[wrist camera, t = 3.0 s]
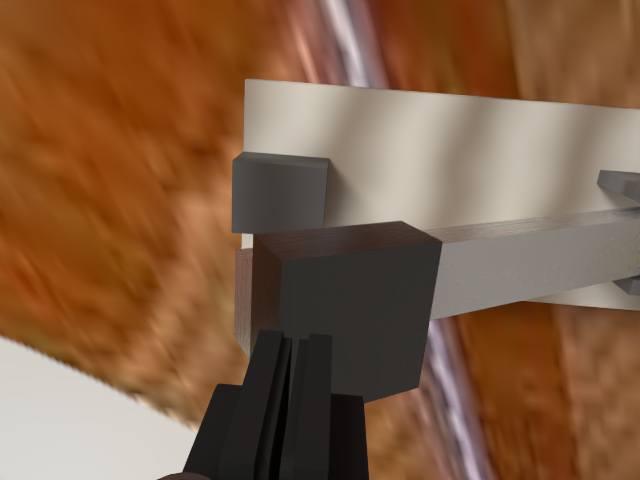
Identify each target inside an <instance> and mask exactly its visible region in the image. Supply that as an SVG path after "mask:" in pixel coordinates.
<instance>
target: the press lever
mask: <svg viewBox="0 0 640 480" xmlns="http://www.w3.org/2000/svg"><path fill="white" fill-rule="evenodd" d="M637 275H640V206H639V207H630V208H620V209H611V210H601V211H592V212H583V213H573V214H564V215H555V216H545V217H536V218H526V219H517V220H508V221H498V222H489V223H480V224H470V225H461V226H451V227H442V228H433V229H423V230H419V229H417V228H415V227H413V226H411V225H409V224H407V223H405V222H403V221H392V222H381V223H370V224H359V225H349V226H338V227H327V228H317V229H306V230H295V231H285V232H274V233H263V234H253V248H245V249H236V250H235V310H234V336H235V337H236V339H237V341H238V342H239V344H240V345H241V347H242V348H243V350H244V352H245V353H246V355H247V356H248V358H249V360H250V359H251V356H252V353H253V350H254V346H255V343H256V340H257V337H258V334H259V331H260V329H265V330H277V331H284V337H285V338H292V354H291V371H290V387H289V403H288V410H289V404H290V397H291V391H292V384H293V378H294V371H295V365H296V358H297V352H298V345H299V339H309V333H312V334H324V335H333V339H332V372H331V393H334V394H345V395H357V396H363V401H364V403H367V402H371V401H374V400H378V399H381V398H384V397H388V396H391V395H395V394H398V393H401V392H405V391H408V390H412V389H415V388H418V387H419V381H420V375H421V369H422V363H423V357H424V351H425V345H426V339H427V333H428V327H429V321H430V320H435V319H440V318H444V317H449V316H453V315H458V314H463V313H467V312H472V311H476V310H481V309H486V308H490V307H495V306H499V305H504V304H509V303H513V302H518V301H522V300H527V299H532V298H536V297H541V296H545V295H550V294H555V293H559V292H564V291H568V290H573V289H578V288H582V287H587V286H591V285H596V284H601V283H605V282H610V281H614V280H619V279H624V278H628V277H633V276H637Z"/></svg>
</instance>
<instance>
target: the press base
mask: <svg viewBox="0 0 640 480" xmlns="http://www.w3.org/2000/svg"><path fill="white" fill-rule="evenodd" d="M639 206H640V109H634V108H621V107H608V106H596V105H583V104H570V103H557V102H544V101H531V100H519V99H506V98H493V97H480V96H467V95H454V94H442V93H429V92H416V91H403V90H390V89H377V88H365V87H352V86H339V85H326V84H313V83H300V82H288V81H275V80H262V79H245V110H244V152H242V153H241V154H240V155H239V156H237V157H236V158H235V159H234V160H233V165H232V233H242V249H245V248H253V234H263V233H274V232H285V231H295V230H306V229H317V228H327V227H338V226H349V225H359V224H370V223H381V222H392V221H403V222H405V223H407V224H409V225H411V226H413V227H415V228H417V229H419V230H423V229H433V228H442V227H451V226H461V225H470V224H480V223H489V222H498V221H508V220H517V219H526V218H536V217H545V216H555V215H564V214H573V213H583V212H592V211H601V210H611V209H620V208H630V207H639ZM522 301H532V302H543V303H555V304H567V305H578V306H590V307H602V308H613V309H625V310H637V311H640V275H637V276H633V277H628V278H624V279H619V280H614V281H610V282H605V283H601V284H596V285H591V286H587V287H582V288H578V289H573V290H568V291H564V292H559V293H555V294H550V295H545V296H541V297H536V298H532V299H527V300H522Z"/></svg>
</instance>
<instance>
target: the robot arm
mask: <svg viewBox="0 0 640 480" xmlns="http://www.w3.org/2000/svg"><path fill="white" fill-rule="evenodd" d="M332 339H333V335H324V334H312V333H309V339H299V345H298V352H297V358H296V365H295V371H294V378H293V384H292V391H291V397H290V404H289V410H288V403H289V387H290V371H291V354H292V338H285V337H284V331H277V330H265V329H260V331H259V334H258V337H257V340H256V343H255V346H254V350H253V353H252V356H251V359H250V362H249V366H248V369H247V372H246V375H245V378H244V382H243V385H242V386H241V385H230V384H218V385H217V386H216V388H215V390H214V393H213V395H212V398H211V400H210V403H209V406H208V408H207V411H206V413H205V416H204V418H203V421H202V423H201V426H200V428H199V431H198V433H197V436H196V439H195V441H194V444H193V446H192V449H191V451H190V454H189V456H188V459H187V461H186V464H185V467H184V469H183V472H182V473H176V474H170V475H167V476H165V477H162V478H160V479H157V480H369V471H368V457H367V443H366V428H365V414H364V401H363V396H357V395H345V394H334V393H331V372H332Z"/></svg>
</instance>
